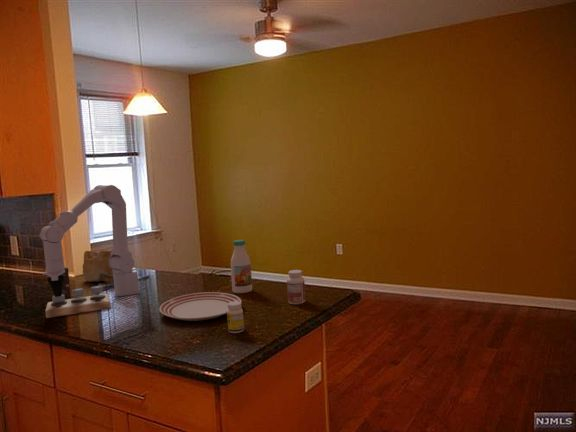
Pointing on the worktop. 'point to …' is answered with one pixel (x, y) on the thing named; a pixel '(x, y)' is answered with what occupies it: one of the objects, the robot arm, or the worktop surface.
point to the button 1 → (58, 299)
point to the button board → (78, 305)
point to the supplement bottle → (235, 317)
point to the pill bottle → (296, 287)
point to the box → (66, 284)
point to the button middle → (77, 292)
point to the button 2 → (96, 289)
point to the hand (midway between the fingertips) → (58, 296)
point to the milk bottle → (240, 268)
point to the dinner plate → (198, 306)
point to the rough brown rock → (97, 267)
